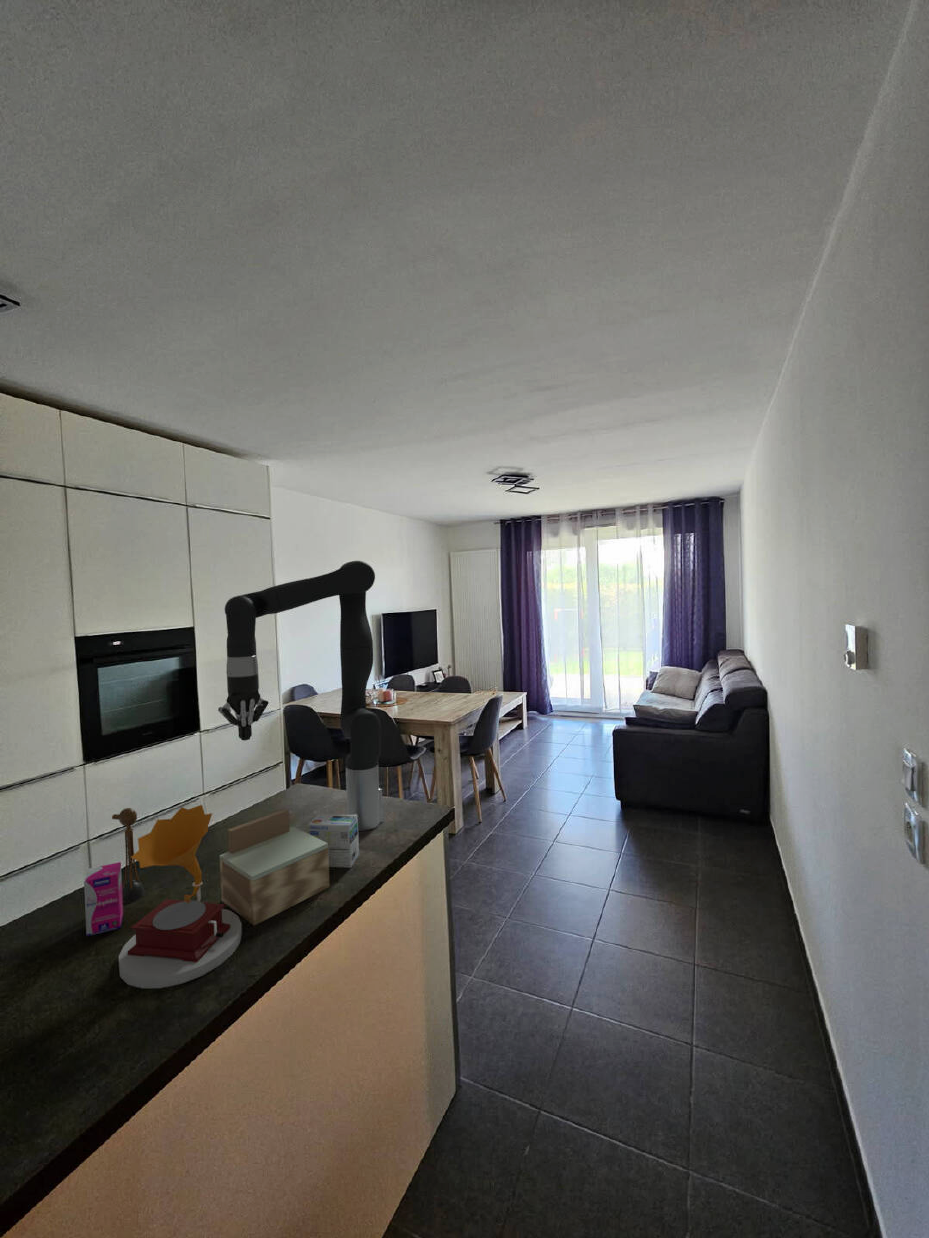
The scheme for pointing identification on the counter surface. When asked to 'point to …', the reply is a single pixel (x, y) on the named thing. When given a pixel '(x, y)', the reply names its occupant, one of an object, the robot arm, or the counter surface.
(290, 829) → the sliding lid
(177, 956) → the gramophone
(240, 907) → the wooden box
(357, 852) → the light bulb box
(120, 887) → the supplement box
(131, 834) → the wooden tabletop sculpture
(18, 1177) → the counter surface
